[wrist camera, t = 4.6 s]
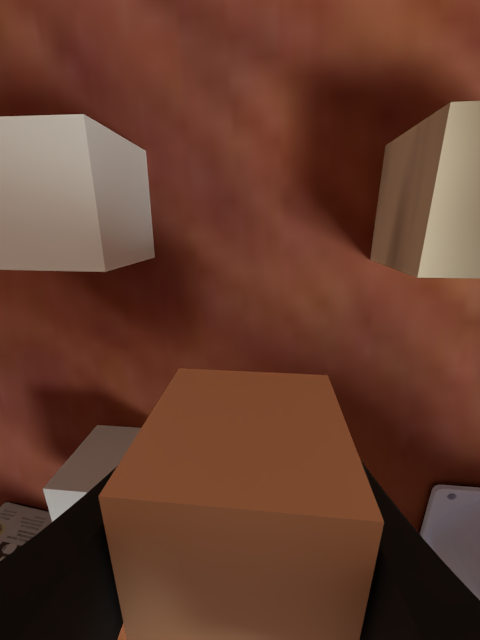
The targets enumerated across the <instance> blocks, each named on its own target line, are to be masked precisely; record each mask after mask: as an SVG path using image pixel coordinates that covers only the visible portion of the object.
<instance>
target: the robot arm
mask: <svg viewBox="0 0 480 640" xmlns="http://www.w3.org/2000/svg"><path fill="white" fill-rule="evenodd" d="M361 463H362V466H363V468H364V471H365V473H366V476H367V479H368V481H369V484H370V486H371V489H372V492H373V494H374V497H375V499H376V502H377V505H378V507H379V510H380V512H381V515H382V518H383V520H384V525H383V530H382V535H381V540H380V544H379V549H378V554H377V559H376V563H375V568H374V573H373V578H372V582H371V587H370V592H369V597H368V601H367V606H366V611H365V616H364V621H363V625H362V630H361V635H360V640H480V488H479V487H466V486H453V485H436V486H434V487H433V489H432V490H431V494H430V498H429V502H428V505H427V509H426V513H425V516H424V520H423V524H422V528H421V531H420V534H419V533H418V532H417V531H416V530H415V528H414V527H413V526H412V525H411V523H410V522H409V521H408V520H407V519H406V517H405V516H404V515H403V514H402V513H401V511H400V510H399V509H398V508H397V506H396V505H395V504H394V503H393V502H392V500H391V499H390V498H389V496H388V495H387V494H386V493H385V491H384V490H383V489H382V487H381V486H380V485H379V484H378V482H377V481H376V480H375V478H374V477H373V476H372V474H371V473H370V472H369V470H368V469H367V468H366V466H365V465H364V464H363V462H362V461H361ZM117 466H118V465H117ZM117 466H116V467H115V468H114V469H113V470H112V471H111V472H110V473H109V474H108V475H107V476H105V477H104V478H103V479H102V480H101V481H100V482H99V483H98V484H97V485H95V486H94V487H93V488H92V489H91V490H90V491H89V492H88V493H86V494H85V495H84V496H83V497H82V498H81V499H79V500H78V501H77V502H76V503H75V504H73V505H72V506H71V507H70V508H69V509H67V510H66V511H65V512H64V513H63V514H61V515H60V516H59V517H58V518H57V519H55V520H54V521H53V522H52V523H50V524H49V525H48V526H47V527H45V528H44V529H43V530H42V531H40V532H39V533H38V534H36V535H35V536H34V537H32V538H31V539H30V540H28V541H27V542H26V543H24V544H23V545H22V546H20V547H19V548H18V549H16V550H15V551H13V552H12V553H11V554H9V555H8V556H7V557H5V558H4V559H3V560H1V561H0V640H117V639H118V636H119V633H120V630H121V627H122V625H123V618H122V613H121V608H120V603H119V598H118V593H117V588H116V583H115V578H114V573H113V568H112V563H111V557H110V552H109V547H108V542H107V537H106V532H105V527H104V522H103V517H102V512H101V507H100V502H99V497H98V496H99V494H100V493H101V491H102V490H103V488H104V487H105V485H106V483H107V482H108V480H109V479H110V477H111V475H112V474H113V472H114V471H115V469H116V468H117Z"/></svg>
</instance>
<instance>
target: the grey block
mask: <svg viewBox="0 0 480 640" xmlns="http://www.w3.org/2000/svg"><path fill="white" fill-rule="evenodd" d="M140 429H141V428H135V427H120V426H105V425H97V426H96V427H95V428H94V429H93V430H92V432H91V433H90V434H89V435H88V436H87V437H86V439H85V440H84V441H83V442H82V443H81V444H80V446H79V447H78V448H77V449H76V450H75V452H74V453H73V454H72V455H71V456H70V457H69V459H68V460H67V461H66V462H65V463H64V464H63V466H62V467H61V468H60V469H59V470H58V471H57V473H56V474H55V475H54V476H53V477H52V478H51V480H50V481H49V482H48V483H47V484H46V486H45V487H44V488H43V491H44V494H45V498H46V502H47V505H48V509H49V513H50V516H51V520H52V522H53V521H54V520H55V519H57V518H58V517H59V516H60V515H61V514H63V513H64V512H65V511H66V510H67V509H69V508H70V507H71V506H72V505H73V504H75V503H76V502H77V501H78V500H79V499H81V498H82V497H83V496H84V495H85V494H86V493H88V492H89V491H90V490H91V489H92V488H93V487H94V486H95V485H97V484H98V483H99V482H100V481H101V480H102V479H103V478H104V477H105V476H107V475H108V474H109V473H110V472H111V471H112V470H113V469H114V468H115V467H116V466H117V465H118V464H119V463H120V461H121V460H122V458H123V456H124V455H125V453H126V452H127V450H128V448H129V447H130V445H131V444H132V442H133V441H134V439H135V437H136V436H137V434H138V433H139V431H140Z"/></svg>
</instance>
